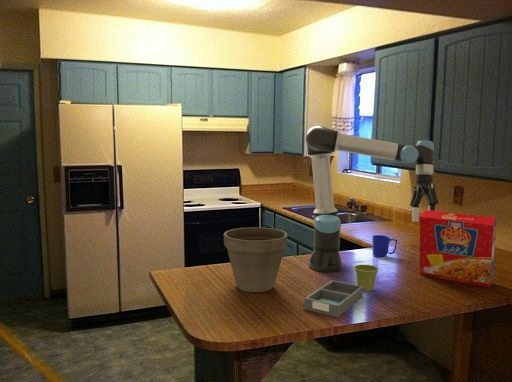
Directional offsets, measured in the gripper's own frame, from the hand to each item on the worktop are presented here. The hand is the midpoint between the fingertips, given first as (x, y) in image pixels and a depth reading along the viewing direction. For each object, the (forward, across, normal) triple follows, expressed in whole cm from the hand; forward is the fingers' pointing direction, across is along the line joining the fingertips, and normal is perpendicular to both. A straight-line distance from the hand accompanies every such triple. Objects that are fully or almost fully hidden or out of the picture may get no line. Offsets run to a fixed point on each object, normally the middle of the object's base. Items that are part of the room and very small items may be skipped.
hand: (423, 221), depth 211 cm
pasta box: (+24, -9, -11) cm, 28 cm away
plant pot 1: (+32, -11, +77) cm, 85 cm away
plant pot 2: (+30, -18, +34) cm, 49 cm away
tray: (+34, -31, +51) cm, 69 cm away
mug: (+18, +27, +6) cm, 33 cm away
